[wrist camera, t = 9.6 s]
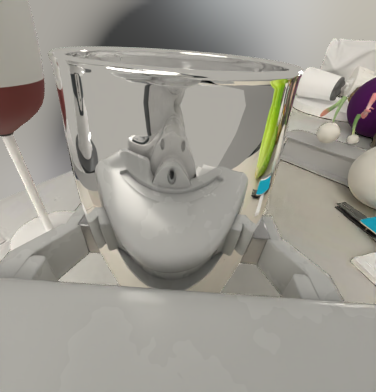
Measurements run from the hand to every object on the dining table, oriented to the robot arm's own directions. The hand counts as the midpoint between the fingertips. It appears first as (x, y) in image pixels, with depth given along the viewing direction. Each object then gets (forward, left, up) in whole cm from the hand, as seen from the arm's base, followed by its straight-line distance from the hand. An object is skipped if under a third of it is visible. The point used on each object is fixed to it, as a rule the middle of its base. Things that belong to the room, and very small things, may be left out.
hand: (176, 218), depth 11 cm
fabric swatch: (+51, +100, -1) cm, 112 cm away
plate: (+31, +85, -11) cm, 91 cm away
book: (+21, +37, -11) cm, 44 cm away
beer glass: (0, -1, -8) cm, 8 cm away
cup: (+31, +85, -4) cm, 90 cm away
